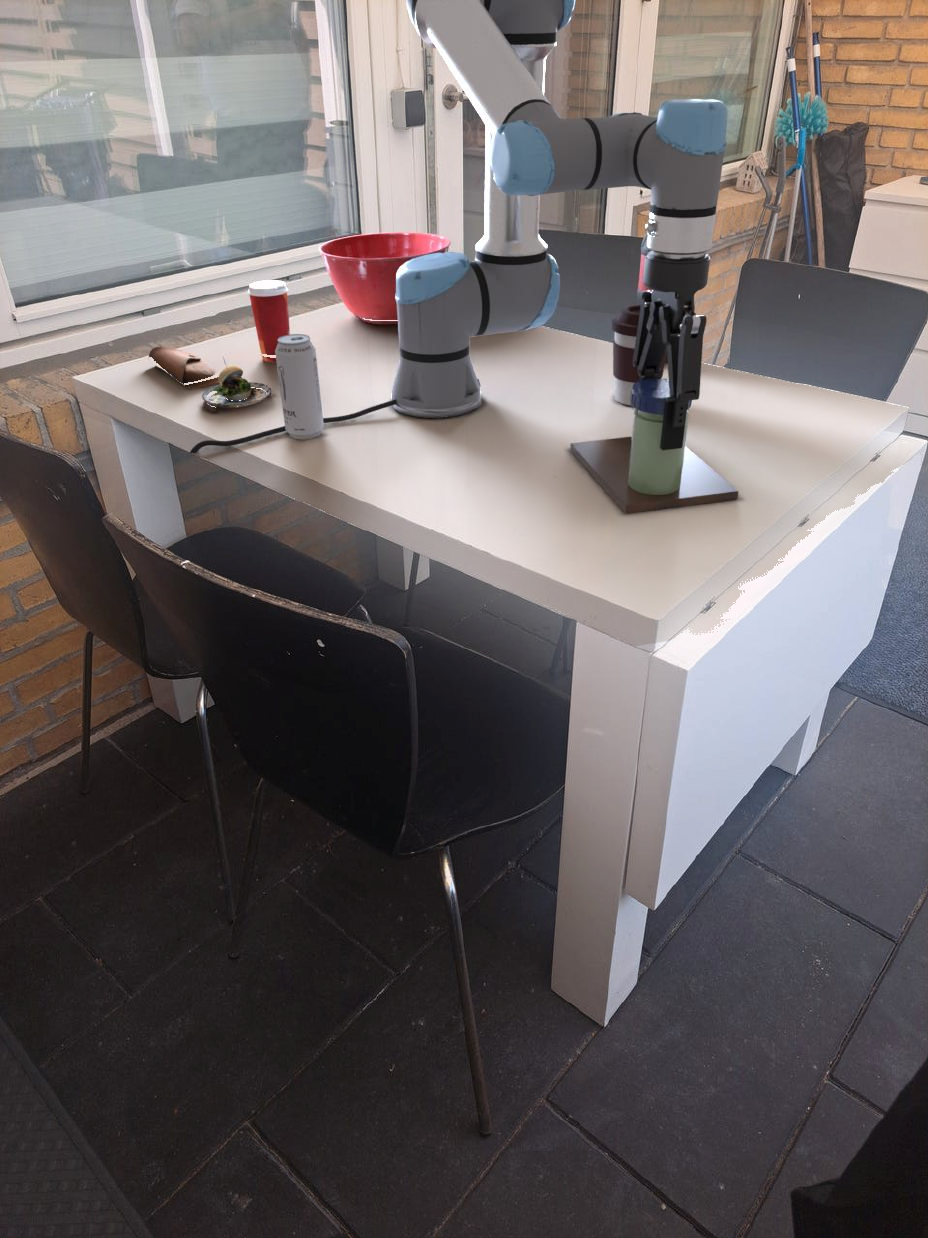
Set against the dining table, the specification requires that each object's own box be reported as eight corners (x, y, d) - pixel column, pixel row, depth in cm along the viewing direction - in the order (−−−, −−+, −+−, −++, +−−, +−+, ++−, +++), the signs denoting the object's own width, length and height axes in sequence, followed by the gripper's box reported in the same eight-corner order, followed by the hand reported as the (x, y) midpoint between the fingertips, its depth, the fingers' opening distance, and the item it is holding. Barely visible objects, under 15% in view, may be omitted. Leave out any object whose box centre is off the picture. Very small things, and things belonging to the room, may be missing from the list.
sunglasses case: (228, 378, 165) (205, 350, 160) (200, 404, 164) (176, 377, 159) (190, 356, 177) (168, 329, 172) (164, 380, 176) (141, 354, 171)
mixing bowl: (309, 332, 191) (300, 255, 183) (346, 299, 215) (339, 229, 206) (439, 336, 187) (436, 257, 179) (462, 301, 211) (460, 231, 202)
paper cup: (304, 355, 177) (296, 281, 170) (278, 366, 172) (268, 290, 164) (275, 350, 181) (265, 277, 173) (248, 360, 176) (237, 285, 168)
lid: (693, 396, 117) (695, 381, 116) (687, 417, 111) (690, 401, 110) (634, 391, 119) (636, 376, 118) (625, 411, 113) (627, 395, 112)
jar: (639, 498, 118) (648, 411, 112) (619, 476, 124) (626, 393, 117) (689, 491, 119) (700, 406, 113) (667, 471, 125) (676, 388, 119)
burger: (209, 418, 149) (201, 374, 145) (197, 397, 158) (189, 354, 154) (280, 407, 153) (274, 364, 149) (264, 387, 162) (258, 345, 158)
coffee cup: (671, 394, 155) (681, 304, 147) (656, 413, 147) (666, 319, 139) (616, 387, 158) (622, 299, 150) (598, 405, 151) (604, 314, 143)
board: (625, 513, 117) (626, 505, 116) (569, 450, 135) (570, 443, 134) (737, 499, 120) (739, 491, 119) (668, 439, 138) (669, 431, 137)
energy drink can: (282, 430, 144) (269, 336, 136) (318, 424, 146) (308, 330, 138) (291, 443, 139) (278, 346, 131) (329, 436, 141) (318, 340, 133)
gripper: (615, 237, 113) (603, 411, 125) (686, 273, 96) (663, 470, 109) (671, 233, 114) (653, 406, 127) (750, 268, 98) (720, 463, 110)
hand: (657, 435), depth 118 cm, fingers closed on lid, 7 cm apart
